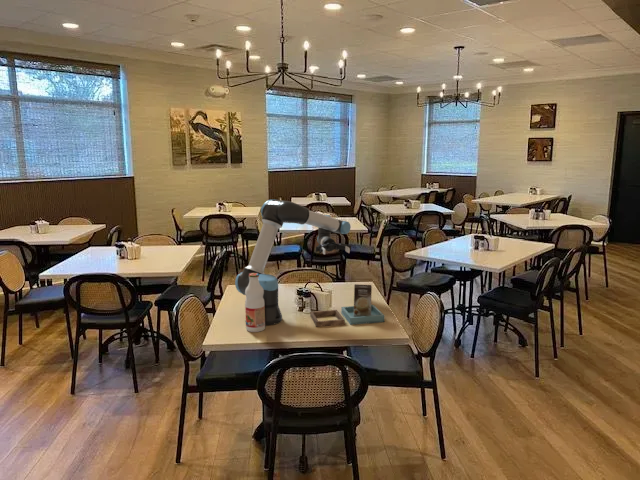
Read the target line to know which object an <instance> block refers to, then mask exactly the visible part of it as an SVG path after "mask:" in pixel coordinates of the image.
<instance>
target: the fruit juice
mask: <svg viewBox="0 0 640 480" xmlns="http://www.w3.org/2000/svg"><path fill="white" fill-rule="evenodd" d="M249 278H250V281H249V284H248V286H247V288H246V289H245V295H244V296H245V301H244V302H245V303H244V308H245V309H244V310H245V328H246V331H248V332H249V333H259V332H262V331H264V330H265V329H266V325H265V303H264V298H263V294H264V289H263V287H262V286H261V285H260V283H259V279H258V278H259V274H258V273H250V274H249Z"/></svg>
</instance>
